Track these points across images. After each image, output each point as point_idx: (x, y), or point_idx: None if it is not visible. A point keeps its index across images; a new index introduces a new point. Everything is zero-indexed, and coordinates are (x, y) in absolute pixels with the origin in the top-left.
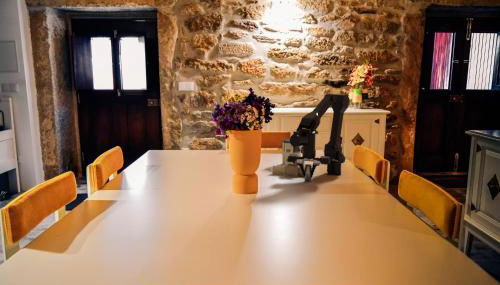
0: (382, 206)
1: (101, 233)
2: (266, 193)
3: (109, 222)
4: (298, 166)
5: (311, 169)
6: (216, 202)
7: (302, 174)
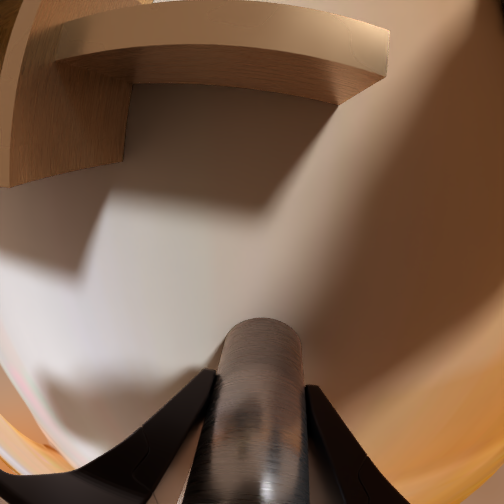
0: (455, 492)
1: (23, 474)
2: (84, 463)
3: (3, 456)
4: (27, 79)
5: (306, 490)
6: (33, 459)
7: (181, 78)
